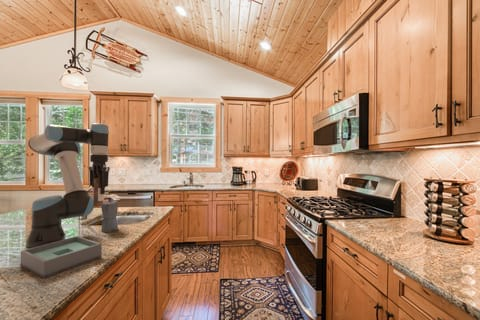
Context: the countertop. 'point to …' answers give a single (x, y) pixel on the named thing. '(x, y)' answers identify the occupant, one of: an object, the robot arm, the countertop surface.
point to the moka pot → (109, 215)
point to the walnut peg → (96, 193)
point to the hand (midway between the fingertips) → (98, 200)
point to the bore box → (60, 256)
